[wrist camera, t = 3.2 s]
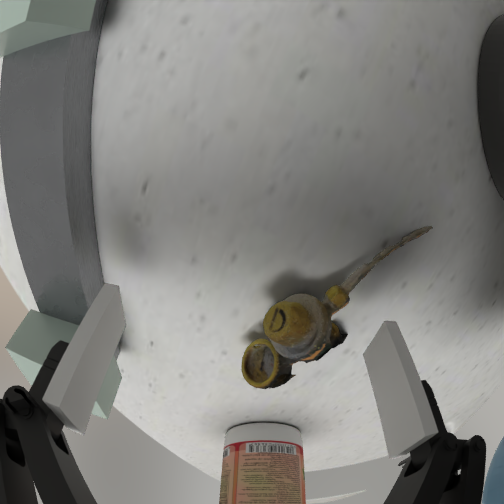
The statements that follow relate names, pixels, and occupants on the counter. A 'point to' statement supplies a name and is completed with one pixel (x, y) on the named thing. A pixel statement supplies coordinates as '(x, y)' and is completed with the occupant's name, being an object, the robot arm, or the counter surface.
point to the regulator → (303, 328)
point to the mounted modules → (35, 323)
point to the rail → (53, 168)
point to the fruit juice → (263, 465)
